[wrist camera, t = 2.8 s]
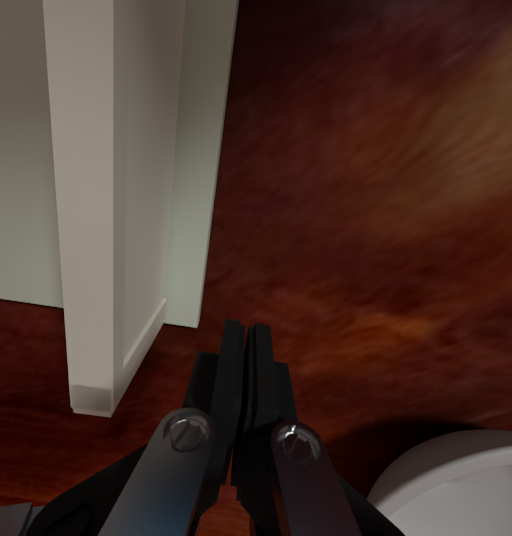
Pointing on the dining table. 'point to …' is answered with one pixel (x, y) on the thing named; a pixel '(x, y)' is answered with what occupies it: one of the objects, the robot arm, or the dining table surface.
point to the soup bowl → (450, 486)
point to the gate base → (42, 162)
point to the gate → (112, 181)
